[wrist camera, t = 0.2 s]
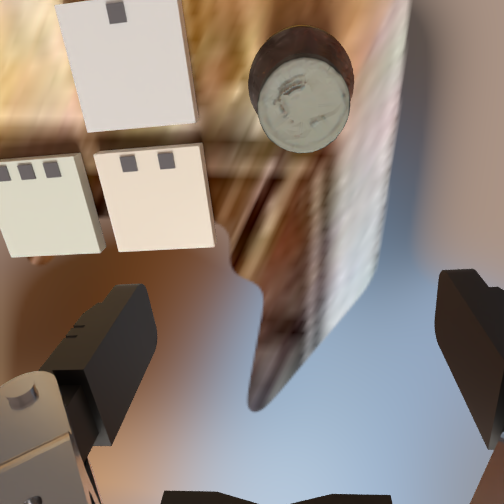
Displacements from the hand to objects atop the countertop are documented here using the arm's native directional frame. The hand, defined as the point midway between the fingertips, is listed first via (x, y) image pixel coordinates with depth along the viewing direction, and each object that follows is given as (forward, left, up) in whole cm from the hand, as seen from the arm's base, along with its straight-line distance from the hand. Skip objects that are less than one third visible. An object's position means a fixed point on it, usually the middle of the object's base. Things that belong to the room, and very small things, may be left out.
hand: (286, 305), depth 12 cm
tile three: (+6, -25, -29) cm, 39 cm away
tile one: (-6, -13, -29) cm, 33 cm away
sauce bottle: (-4, +1, -29) cm, 30 cm away
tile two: (+6, -13, -29) cm, 32 cm away
